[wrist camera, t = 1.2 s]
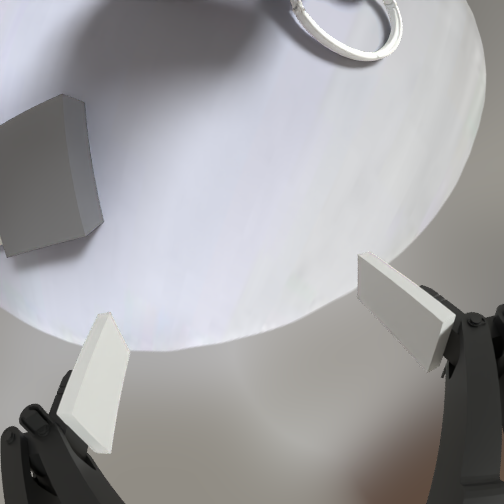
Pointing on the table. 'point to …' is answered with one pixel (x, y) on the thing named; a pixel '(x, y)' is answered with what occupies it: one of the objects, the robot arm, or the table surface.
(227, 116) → the table surface
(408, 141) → the table surface
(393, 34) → the headphones
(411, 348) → the robot arm
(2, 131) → the housing
